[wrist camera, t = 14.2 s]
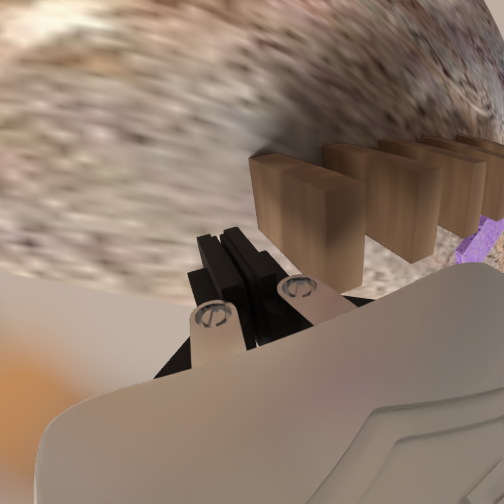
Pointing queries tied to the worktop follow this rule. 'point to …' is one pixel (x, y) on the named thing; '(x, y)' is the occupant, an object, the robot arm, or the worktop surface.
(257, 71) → the worktop surface
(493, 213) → the tile
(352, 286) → the tile
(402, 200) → the tile
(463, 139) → the tile
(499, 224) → the sponges
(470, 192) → the tile
